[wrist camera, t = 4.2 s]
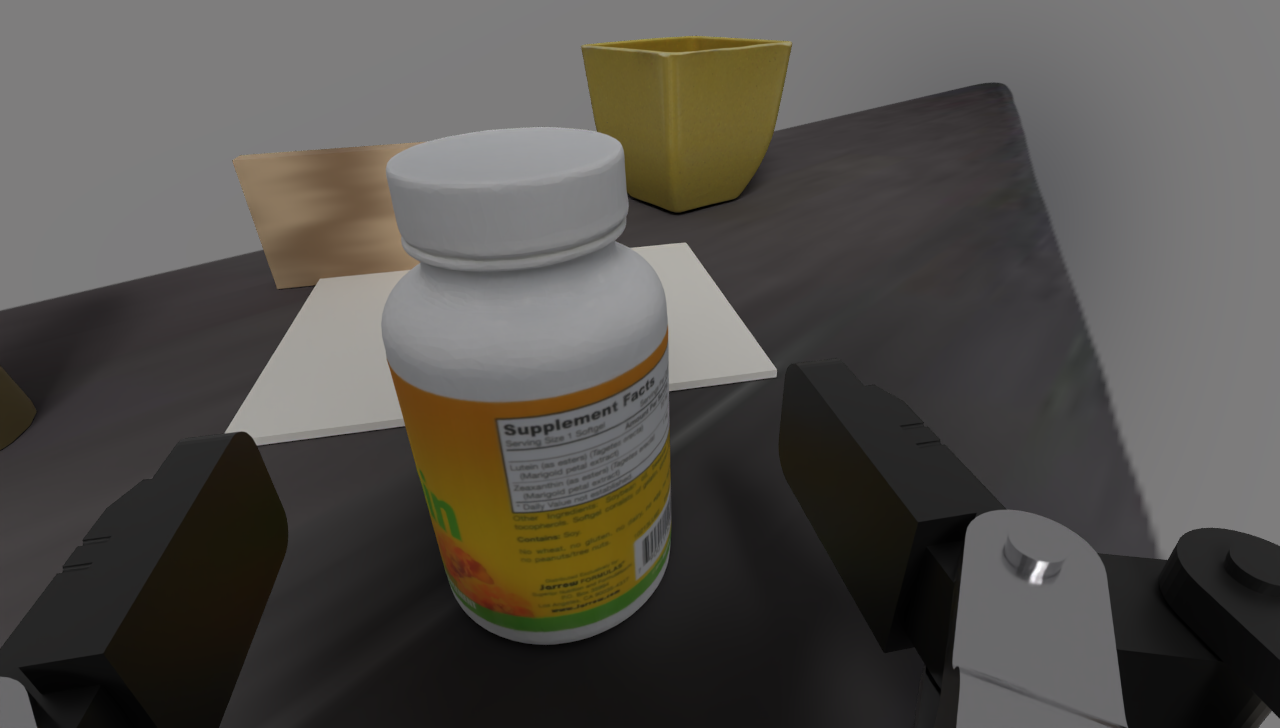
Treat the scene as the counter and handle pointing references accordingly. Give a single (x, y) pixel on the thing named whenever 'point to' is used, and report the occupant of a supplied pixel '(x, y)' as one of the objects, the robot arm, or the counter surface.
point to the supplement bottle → (532, 378)
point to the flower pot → (687, 112)
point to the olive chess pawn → (13, 410)
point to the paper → (360, 375)
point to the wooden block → (324, 212)
